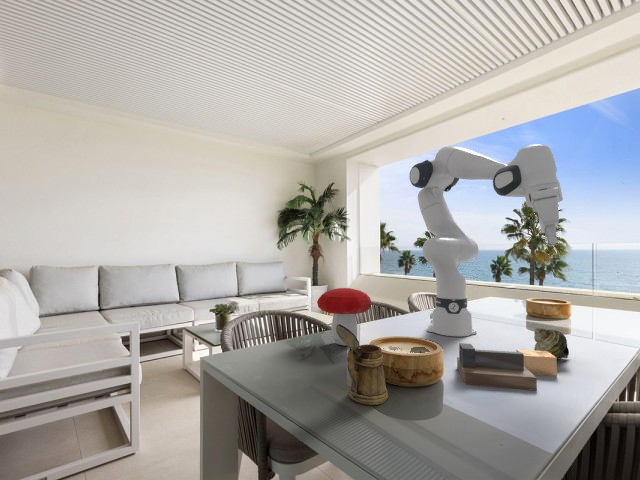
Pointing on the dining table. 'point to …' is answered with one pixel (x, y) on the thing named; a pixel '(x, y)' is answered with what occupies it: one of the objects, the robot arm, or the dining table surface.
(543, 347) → the seashell
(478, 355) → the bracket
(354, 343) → the wooden mug
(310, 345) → the dining table surface
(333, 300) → the mushroom
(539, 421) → the dining table surface
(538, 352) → the slotted cardboard block
